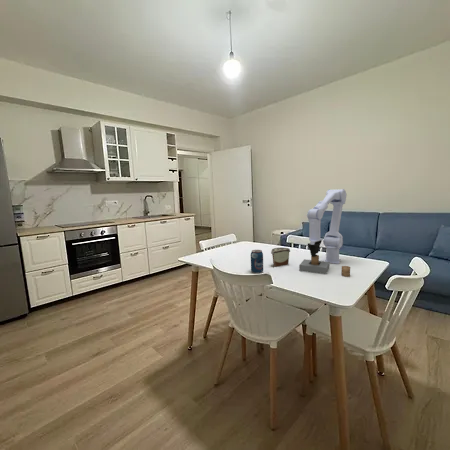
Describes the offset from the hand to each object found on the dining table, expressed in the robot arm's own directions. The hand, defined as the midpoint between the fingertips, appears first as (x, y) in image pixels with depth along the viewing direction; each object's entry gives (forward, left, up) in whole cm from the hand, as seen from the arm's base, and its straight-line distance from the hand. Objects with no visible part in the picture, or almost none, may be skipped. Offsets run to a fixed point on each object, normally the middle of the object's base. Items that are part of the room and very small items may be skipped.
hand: (314, 254), depth 137 cm
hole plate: (0, 0, -8) cm, 8 cm away
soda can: (+16, -28, -9) cm, 33 cm away
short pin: (+4, +16, -9) cm, 19 cm away
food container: (-1, -21, -9) cm, 23 cm away
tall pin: (0, 0, -9) cm, 9 cm away
